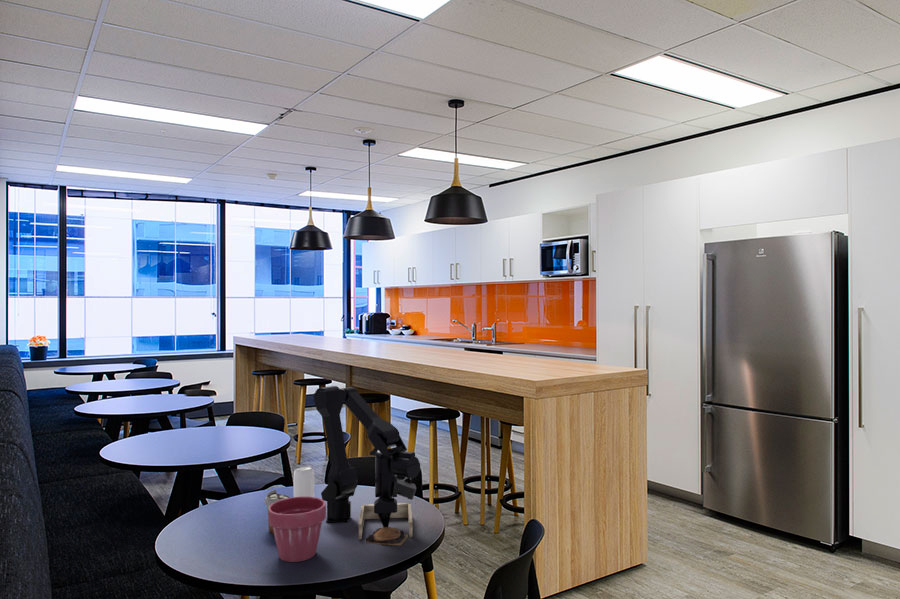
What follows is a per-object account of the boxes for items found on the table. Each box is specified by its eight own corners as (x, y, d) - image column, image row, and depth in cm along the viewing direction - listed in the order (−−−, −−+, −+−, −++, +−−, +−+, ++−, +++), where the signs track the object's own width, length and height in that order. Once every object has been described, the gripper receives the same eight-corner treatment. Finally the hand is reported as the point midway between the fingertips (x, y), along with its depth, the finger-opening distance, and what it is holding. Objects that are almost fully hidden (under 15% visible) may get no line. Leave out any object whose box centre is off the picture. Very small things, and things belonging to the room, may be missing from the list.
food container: (256, 529, 174) (255, 494, 174) (275, 523, 179) (275, 489, 179) (279, 540, 166) (279, 503, 166) (299, 533, 171) (299, 497, 171)
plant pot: (277, 571, 146) (277, 517, 146) (261, 551, 158) (261, 502, 158) (334, 558, 154) (334, 507, 154) (315, 540, 166) (314, 493, 166)
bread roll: (410, 537, 169) (410, 523, 169) (400, 548, 161) (400, 534, 161) (374, 533, 172) (374, 520, 172) (362, 544, 164) (362, 530, 164)
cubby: (358, 539, 166) (358, 524, 166) (361, 518, 183) (361, 504, 183) (412, 537, 168) (412, 522, 168) (410, 516, 184) (410, 503, 184)
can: (311, 508, 192) (311, 470, 192) (291, 508, 192) (291, 470, 192) (316, 502, 198) (316, 465, 199) (296, 502, 199) (296, 465, 199)
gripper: (415, 480, 163) (416, 539, 163) (413, 463, 182) (413, 515, 182) (373, 482, 162) (374, 541, 162) (375, 464, 181) (375, 517, 180)
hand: (385, 528), depth 171 cm, fingers closed
